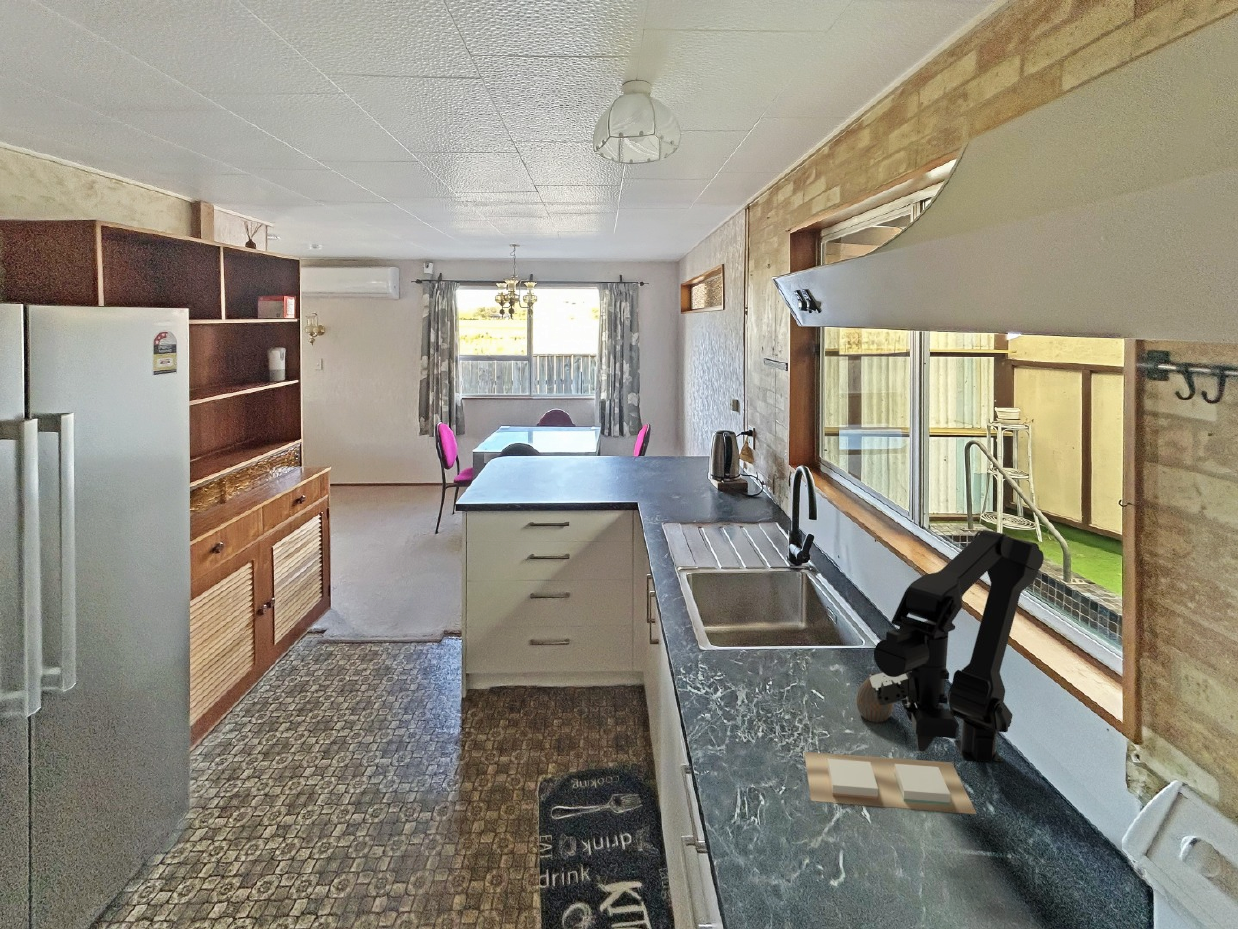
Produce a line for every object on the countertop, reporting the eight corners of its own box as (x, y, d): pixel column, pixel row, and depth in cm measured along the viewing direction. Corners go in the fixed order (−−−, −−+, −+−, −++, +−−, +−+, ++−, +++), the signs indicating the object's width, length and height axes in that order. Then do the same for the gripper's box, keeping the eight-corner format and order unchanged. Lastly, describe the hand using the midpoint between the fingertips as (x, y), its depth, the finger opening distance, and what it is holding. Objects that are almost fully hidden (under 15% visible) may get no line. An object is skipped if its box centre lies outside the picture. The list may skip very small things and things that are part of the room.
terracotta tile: (827, 759, 135) (832, 785, 127) (870, 762, 134) (878, 788, 126) (827, 768, 136) (832, 795, 128) (869, 771, 134) (877, 799, 127)
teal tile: (894, 763, 134) (904, 790, 126) (938, 767, 133) (950, 794, 125) (894, 773, 134) (903, 801, 126) (937, 777, 133) (949, 804, 125)
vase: (868, 729, 150) (870, 685, 148) (848, 712, 156) (850, 670, 155) (900, 724, 151) (902, 681, 150) (880, 708, 158) (882, 666, 157)
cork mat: (804, 754, 141) (804, 751, 141) (951, 764, 137) (951, 762, 137) (811, 803, 126) (811, 800, 126) (976, 816, 123) (976, 814, 123)
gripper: (866, 635, 137) (862, 719, 140) (885, 682, 119) (879, 777, 122) (933, 639, 136) (928, 724, 138) (963, 686, 117) (956, 783, 120)
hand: (921, 750), depth 130 cm, fingers closed
